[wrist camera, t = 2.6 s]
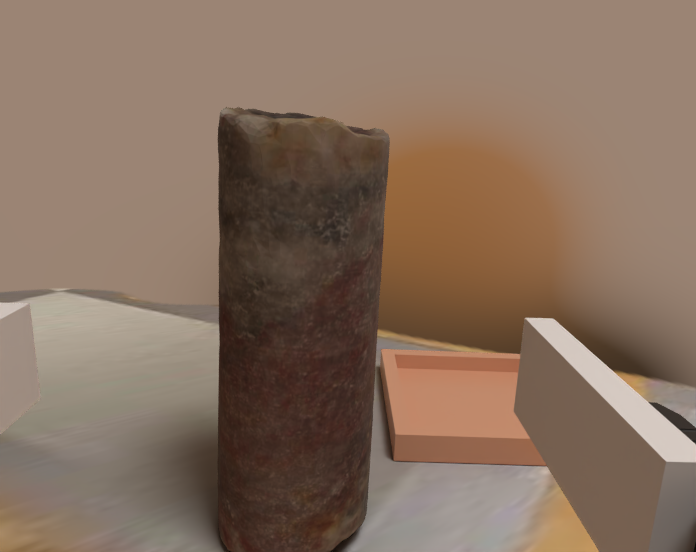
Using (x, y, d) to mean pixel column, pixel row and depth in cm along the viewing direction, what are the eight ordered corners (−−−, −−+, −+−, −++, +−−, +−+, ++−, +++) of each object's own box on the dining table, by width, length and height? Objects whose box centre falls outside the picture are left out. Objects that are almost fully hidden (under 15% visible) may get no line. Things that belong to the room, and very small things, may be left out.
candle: (306, 460, 33) (315, 112, 28) (399, 525, 28) (431, 115, 23) (190, 517, 28) (173, 103, 22) (278, 610, 23) (283, 104, 17)
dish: (393, 460, 33) (395, 434, 33) (379, 369, 46) (381, 349, 45) (606, 467, 33) (611, 441, 33) (534, 374, 46) (537, 354, 46)
